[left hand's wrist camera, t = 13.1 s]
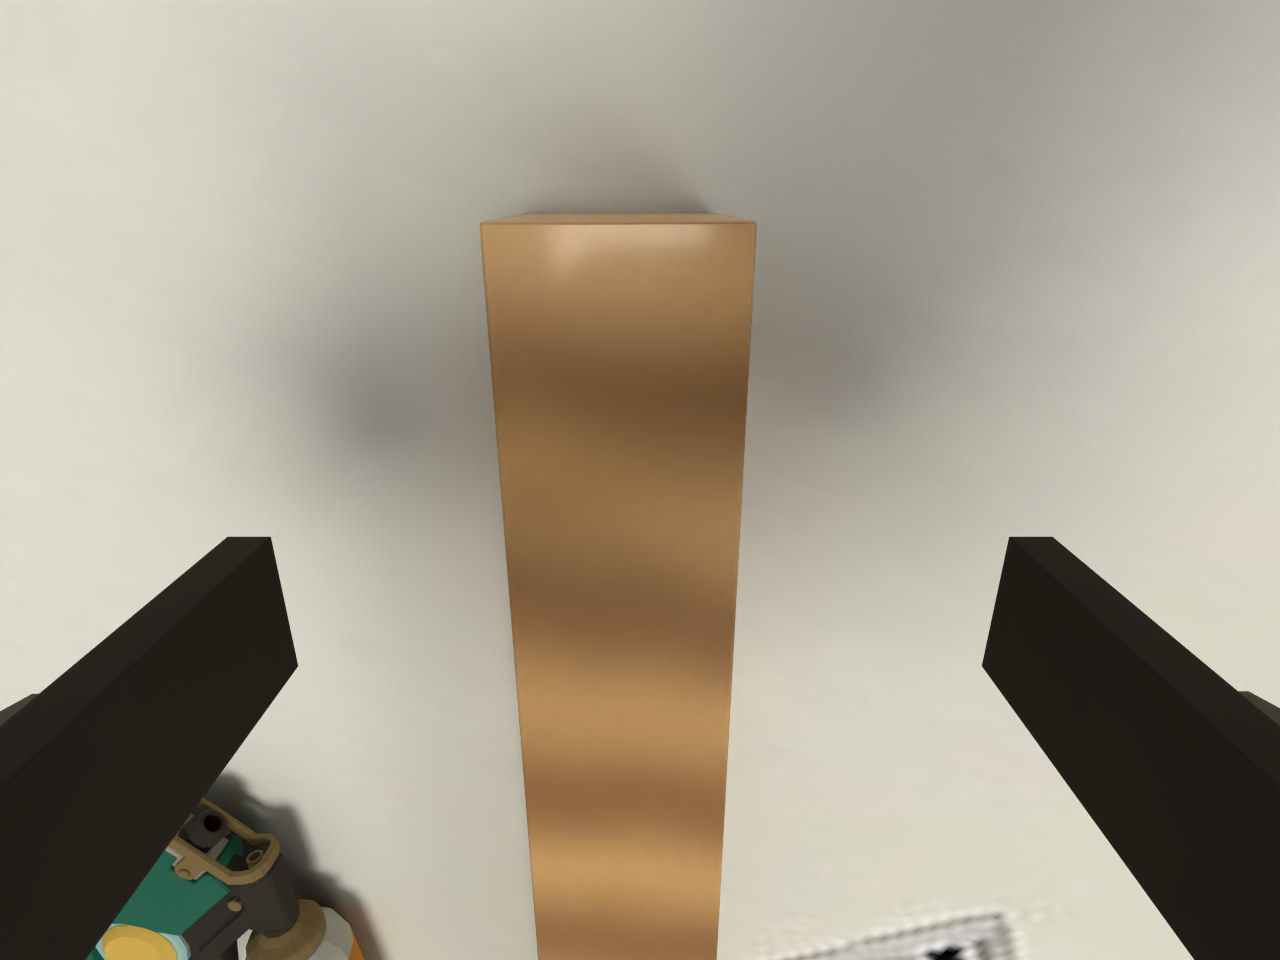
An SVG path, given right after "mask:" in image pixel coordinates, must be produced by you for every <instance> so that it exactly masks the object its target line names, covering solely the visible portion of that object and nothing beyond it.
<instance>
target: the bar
mask: <svg viewBox="0 0 1280 960" xmlns="http://www.w3.org/2000/svg"><path fill="white" fill-rule="evenodd" d="M756 228H757V224H756V222H754V221H749V220H744V219H739V218H734V217H729V216H725V215H720V214H715V213H527V214H522V215H517V216H512V217H507V218H502V219H497V220H492V221H487V222H482V223H480V234H481V247H482V259H483V272H484V284H485V297H486V309H487V322H488V334H489V347H490V359H491V372H492V384H493V397H494V409H495V422H496V435H497V447H498V460H499V472H500V485H501V497H502V510H503V522H504V535H505V547H506V560H507V572H508V585H509V597H510V610H511V623H512V635H513V648H514V660H515V673H516V685H517V698H518V710H519V723H520V735H521V748H522V760H523V773H524V785H525V798H526V810H527V823H528V836H529V848H530V861H531V873H532V886H533V898H534V911H535V923H536V936H537V948H538V960H717V941H718V923H719V905H720V886H721V868H722V850H723V832H724V813H725V795H726V777H727V759H728V740H729V722H730V704H731V685H732V667H733V649H734V631H735V612H736V594H737V576H738V557H739V539H740V521H741V503H742V484H743V466H744V448H745V429H746V411H747V393H748V375H749V356H750V338H751V320H752V301H753V283H754V265H755V247H756Z"/></svg>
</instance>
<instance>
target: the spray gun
mask: <svg viewBox="0 0 1280 960" xmlns="http://www.w3.org/2000/svg"><path fill="white" fill-rule="evenodd" d="M196 808H197V809H199V810H200V812H199V813H197V814H196V815H195V816H194V815H192V814H191V815H190V816H189V818H188V819H187V820H186V822H185V823H184V824H183V826H182V827H181V829H180V830H179V831H178V833H177V834H176V836H175V837H174V838H173V840H172V841H171V842H170V844H169V845H168V847H167V848H166V849H165V851H164V852H163V854H162V855H161V856H160V858H159V859H158V860H157V862H156V863H155V865H154V866H153V867H152V869H151V870H150V871H149V873H148V874H147V876H146V877H145V878H144V880H143V881H142V883H141V884H140V885H139V887H138V888H137V889H136V891H135V892H134V894H133V895H132V896H131V898H130V899H129V900H128V902H127V903H126V905H125V906H124V907H123V909H122V910H121V912H120V913H119V914H118V916H117V917H116V918H115V920H114V921H113V923H112V924H111V925H110V927H109V928H108V930H107V931H106V932H105V934H104V935H103V936H102V938H101V939H100V941H99V942H98V943H97V945H96V946H95V947H94V949H93V950H92V952H91V953H90V954H89V956H88V957H87V959H86V960H238V948H237V939H238V938H239V937H240V936H241V935H242V934H244V933H245V932H246V931H247V930H248V929H251V930H253V932H252V933H251V935H250V938H249V940H248V943H247V946H246V955H247V957H246V959H245V960H365V959H364V957H363V954H362V952H361V950H360V947H359V945H358V943H357V940H356V938H355V936H354V933H353V931H352V929H351V926H350V925H349V924H348V923H347V922H346V921H345V920H344V919H343V918H342V917H341V916H340V915H339V914H337V913H336V912H335V911H334V910H333V909H332V908H327V907H321V906H320V905H319V904H317V903H316V902H315V901H313V900H307V899H299V900H297V897H296V894H295V891H294V888H293V885H292V882H291V879H290V876H289V873H288V870H287V867H286V864H285V861H284V858H283V855H282V853H279V852H280V849H281V848H280V845H279V843H278V840H277V838H276V837H275V835H273V834H269V833H264V834H257V833H256V832H254V831H253V830H252V829H250V828H249V827H247V826H246V825H244V824H243V823H241V822H240V821H238V820H237V819H235V818H234V817H232V816H231V815H229V814H228V813H226V812H225V811H223V810H222V809H220V808H219V807H217V806H216V805H214V804H213V803H211V802H210V801H208V800H207V799H205V798H204V797H203V798H202V800H201V801H200V802H199V804H198V805H197V807H196ZM231 831H232V832H234V833H235V834H237V835H238V836H240V837H241V838H243V839H244V840H246V841H247V842H249V843H250V844H252V845H269V848H268V849H267V851H266V852H265V854H264V852H263V851H262V850H256V851H253V852H252V853H250V854H249V855H248V856H247V857H246V858H244V857H243V848H242V840H241V838H240V837H238V836H237V835H234V836H230V837H229V838H228V839H227V838H225V836H226V835H227V834H229V833H230V832H231Z"/></svg>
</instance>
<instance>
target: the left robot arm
mask: <svg viewBox="0 0 1280 960" xmlns="http://www.w3.org/2000/svg"><path fill="white" fill-rule="evenodd" d="M297 667H298V663H297V659H296V654H295V649H294V644H293V640H292V635H291V630H290V626H289V621H288V616H287V611H286V607H285V602H284V597H283V593H282V588H281V583H280V578H279V574H278V569H277V564H276V560H275V555H274V550H273V545H272V541H271V537H227V538H226V539H224V540H223V541H222V542H221V543H220V544H218V545H217V546H216V547H215V548H214V549H212V550H211V551H210V552H209V553H208V554H206V555H205V556H204V557H203V558H202V559H200V560H199V561H198V562H197V563H196V564H194V565H193V566H192V567H191V568H190V569H188V570H187V571H186V572H185V573H184V574H182V575H181V576H180V577H179V578H178V579H176V580H175V581H174V582H173V583H172V584H170V585H169V586H168V587H167V588H166V589H164V590H163V591H162V592H161V593H160V594H158V595H157V596H156V597H155V598H154V599H152V600H151V601H150V602H149V603H148V604H146V605H145V606H144V607H143V608H142V609H140V610H139V611H138V612H137V613H136V614H134V615H133V616H132V617H131V618H130V619H128V620H127V621H126V622H125V623H124V624H122V625H121V626H120V627H119V628H118V629H116V630H115V631H114V632H113V633H112V634H110V635H109V636H108V637H107V638H106V639H104V640H103V641H102V642H101V643H100V644H98V645H97V646H96V647H95V648H94V649H92V650H91V651H90V652H89V653H88V654H86V655H85V656H84V657H83V658H82V659H80V660H79V661H78V662H77V663H76V664H74V665H73V666H72V667H71V668H70V669H68V670H67V671H66V672H65V673H64V674H62V675H61V676H60V677H59V678H58V679H56V680H55V681H54V682H53V683H52V684H50V685H49V686H48V687H47V688H46V689H44V690H43V691H42V692H41V693H40V694H31V695H29V696H28V697H26V698H24V699H22V700H20V701H18V702H17V703H15V704H13V705H11V706H9V707H7V708H6V709H4V710H2V711H0V960H86V959H87V957H88V956H89V954H90V953H91V952H92V950H93V949H94V947H95V946H96V945H97V943H98V942H99V941H100V939H101V938H102V936H103V935H104V934H105V932H106V931H107V930H108V928H109V927H110V925H111V924H112V923H113V921H114V920H115V918H116V917H117V916H118V914H119V913H120V912H121V910H122V909H123V907H124V906H125V905H126V903H127V902H128V900H129V899H130V898H131V896H132V895H133V894H134V892H135V891H136V889H137V888H138V887H139V885H140V884H141V883H142V881H143V880H144V878H145V877H146V876H147V874H148V873H149V871H150V870H151V869H152V867H153V866H154V865H155V863H156V862H157V860H158V859H159V858H160V856H161V855H162V854H163V852H164V851H165V849H166V848H167V847H168V845H169V844H170V842H171V841H172V840H173V838H174V837H175V836H176V834H177V833H178V831H179V830H180V829H181V827H182V826H183V824H184V823H185V822H186V820H187V819H188V818H189V816H190V815H191V813H192V812H193V811H194V809H195V808H196V807H197V805H198V804H199V802H200V801H201V800H202V798H203V797H204V795H205V794H206V793H207V791H208V790H209V789H210V787H211V786H212V784H213V783H214V782H215V780H216V779H217V777H218V776H219V775H220V773H221V772H222V771H223V769H224V768H225V766H226V765H227V764H228V762H229V761H230V760H231V758H232V757H233V755H234V754H235V753H236V751H237V750H238V748H239V747H240V746H241V744H242V743H243V742H244V740H245V739H246V737H247V736H248V735H249V733H250V732H251V730H252V729H253V728H254V726H255V725H256V724H257V722H258V721H259V719H260V718H261V717H262V715H263V714H264V713H265V711H266V710H267V708H268V707H269V706H270V704H271V703H272V701H273V700H274V699H275V697H276V696H277V695H278V693H279V692H280V690H281V689H282V688H283V686H284V685H285V683H286V682H287V681H288V679H289V678H290V677H291V675H292V674H293V672H294V671H295V670H296V668H297ZM982 667H983V668H984V670H985V671H986V672H987V674H988V675H989V677H990V678H991V679H992V681H993V682H994V683H995V685H996V686H997V688H998V689H999V690H1000V692H1001V693H1002V695H1003V696H1004V697H1005V699H1006V700H1007V701H1008V703H1009V704H1010V706H1011V707H1012V708H1013V710H1014V711H1015V713H1016V714H1017V715H1018V717H1019V718H1020V719H1021V721H1022V722H1023V724H1024V725H1025V726H1026V728H1027V729H1028V730H1029V732H1030V733H1031V735H1032V736H1033V737H1034V739H1035V740H1036V742H1037V743H1038V744H1039V746H1040V747H1041V748H1042V750H1043V751H1044V753H1045V754H1046V755H1047V757H1048V758H1049V760H1050V761H1051V762H1052V764H1053V765H1054V766H1055V768H1056V769H1057V771H1058V772H1059V773H1060V775H1061V776H1062V777H1063V779H1064V780H1065V782H1066V783H1067V784H1068V786H1069V787H1070V789H1071V790H1072V791H1073V793H1074V794H1075V795H1076V797H1077V798H1078V800H1079V801H1080V802H1081V804H1082V805H1083V807H1084V808H1085V809H1086V811H1087V812H1088V813H1089V815H1090V816H1091V818H1092V819H1093V820H1094V822H1095V823H1096V824H1097V826H1098V827H1099V829H1100V830H1101V831H1102V833H1103V834H1104V836H1105V837H1106V838H1107V840H1108V841H1109V842H1110V844H1111V845H1112V847H1113V848H1114V849H1115V851H1116V852H1117V853H1118V855H1119V856H1120V858H1121V859H1122V860H1123V862H1124V863H1125V865H1126V866H1127V867H1128V869H1129V870H1130V871H1131V873H1132V874H1133V876H1134V877H1135V878H1136V880H1137V881H1138V883H1139V884H1140V885H1141V887H1142V888H1143V889H1144V891H1145V892H1146V894H1147V895H1148V896H1149V898H1150V899H1151V900H1152V902H1153V903H1154V905H1155V906H1156V907H1157V909H1158V910H1159V912H1160V913H1161V914H1162V916H1163V917H1164V918H1165V920H1166V921H1167V923H1168V924H1169V925H1170V927H1171V928H1172V930H1173V931H1174V932H1175V934H1176V935H1177V936H1178V938H1179V939H1180V941H1181V942H1182V943H1183V945H1184V946H1185V947H1186V949H1187V950H1188V952H1189V953H1190V954H1191V956H1192V957H1193V959H1194V960H1280V708H1278V707H1276V706H1275V705H1273V704H1271V703H1269V702H1267V701H1265V700H1264V699H1262V698H1260V697H1258V696H1256V695H1254V694H1252V693H1251V692H1249V691H1237V690H1236V689H1234V688H1233V687H1232V686H1231V685H1230V684H1228V683H1227V682H1226V681H1225V680H1224V679H1222V678H1221V677H1220V676H1219V675H1218V674H1216V673H1215V672H1214V671H1213V670H1212V669H1210V668H1209V667H1208V666H1207V665H1206V664H1204V663H1203V662H1202V661H1201V660H1200V659H1198V658H1197V657H1196V656H1195V655H1194V654H1192V653H1191V652H1190V651H1189V650H1188V649H1186V648H1185V647H1184V646H1183V645H1182V644H1180V643H1179V642H1178V641H1177V640H1176V639H1174V638H1173V637H1172V636H1171V635H1170V634H1168V633H1167V632H1166V631H1165V630H1164V629H1162V628H1161V627H1160V626H1159V625H1158V624H1156V623H1155V622H1154V621H1153V620H1152V619H1150V618H1149V617H1148V616H1147V615H1146V614H1144V613H1143V612H1142V611H1141V610H1140V609H1138V608H1137V607H1136V606H1135V605H1134V604H1132V603H1131V602H1130V601H1129V600H1128V599H1126V598H1125V597H1124V596H1123V595H1122V594H1120V593H1119V592H1118V591H1117V590H1116V589H1114V588H1113V587H1112V586H1111V585H1110V584H1108V583H1107V582H1106V581H1105V580H1104V579H1102V578H1101V577H1100V576H1099V575H1098V574H1096V573H1095V572H1094V571H1093V570H1092V569H1090V568H1089V567H1088V566H1087V565H1086V564H1084V563H1083V562H1082V561H1081V560H1080V559H1078V558H1077V557H1076V556H1075V555H1074V554H1072V553H1071V552H1070V551H1069V550H1068V549H1066V548H1065V547H1064V546H1063V545H1062V544H1060V543H1059V542H1058V541H1057V540H1056V539H1054V538H1053V537H1009V541H1008V545H1007V550H1006V555H1005V560H1004V564H1003V569H1002V574H1001V578H1000V583H999V588H998V593H997V597H996V602H995V607H994V611H993V616H992V621H991V626H990V630H989V635H988V640H987V644H986V649H985V654H984V659H983V663H982Z"/></svg>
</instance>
